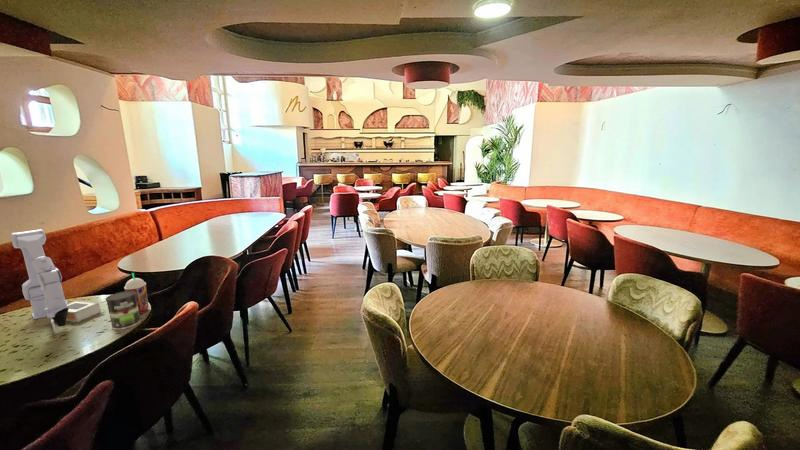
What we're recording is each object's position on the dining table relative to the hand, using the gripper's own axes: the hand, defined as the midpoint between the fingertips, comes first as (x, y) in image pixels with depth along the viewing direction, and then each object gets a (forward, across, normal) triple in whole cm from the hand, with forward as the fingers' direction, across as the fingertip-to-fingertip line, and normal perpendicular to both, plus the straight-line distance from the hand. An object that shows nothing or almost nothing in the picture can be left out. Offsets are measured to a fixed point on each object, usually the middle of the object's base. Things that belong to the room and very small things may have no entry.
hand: (62, 325), depth 145 cm
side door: (+1, -6, -5) cm, 7 cm away
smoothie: (+2, -5, +27) cm, 27 cm away
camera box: (+2, -14, +1) cm, 14 cm away
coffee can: (+2, +8, +24) cm, 25 cm away
